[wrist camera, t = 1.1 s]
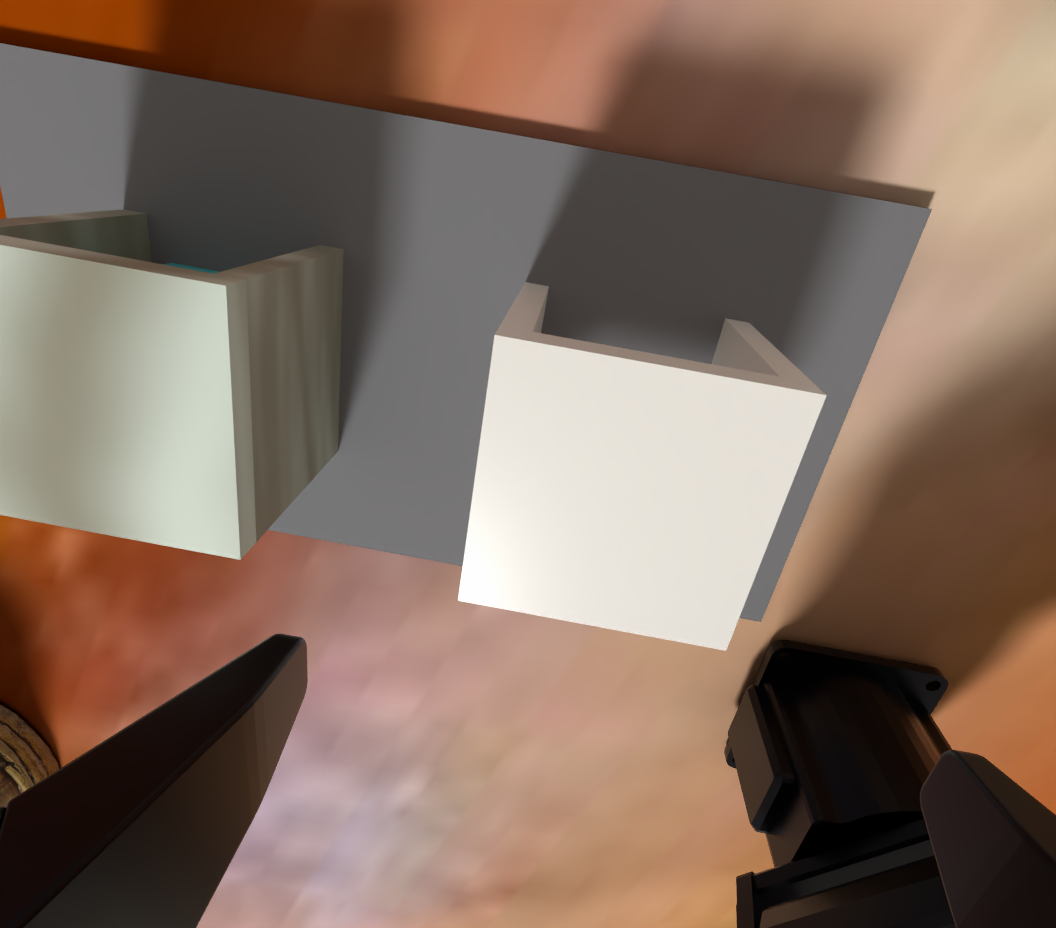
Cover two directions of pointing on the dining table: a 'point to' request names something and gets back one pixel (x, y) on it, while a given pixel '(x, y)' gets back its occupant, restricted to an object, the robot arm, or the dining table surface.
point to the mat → (457, 263)
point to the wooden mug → (21, 756)
